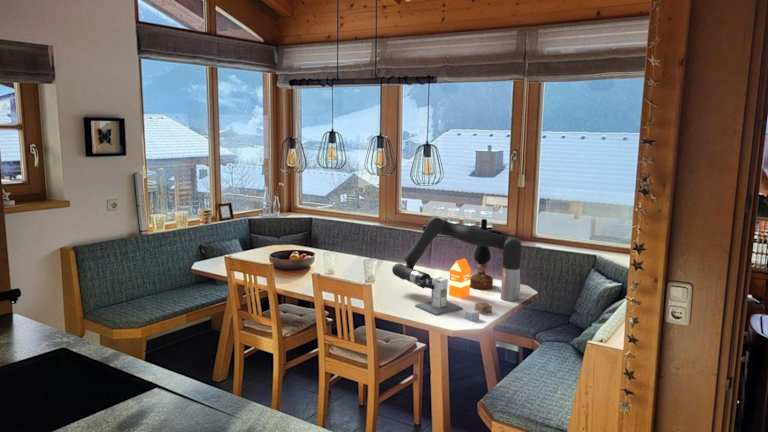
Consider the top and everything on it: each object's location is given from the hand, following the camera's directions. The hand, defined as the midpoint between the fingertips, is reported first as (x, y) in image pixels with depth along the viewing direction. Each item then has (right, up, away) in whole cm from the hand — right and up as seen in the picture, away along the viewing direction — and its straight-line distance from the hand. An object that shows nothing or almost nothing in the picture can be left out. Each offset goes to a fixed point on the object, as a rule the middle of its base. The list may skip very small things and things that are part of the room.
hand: (440, 286), depth 299 cm
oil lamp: (+27, -5, +42) cm, 51 cm away
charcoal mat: (0, -11, +2) cm, 12 cm away
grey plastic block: (+14, -14, -13) cm, 24 cm away
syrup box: (0, -11, +2) cm, 11 cm away
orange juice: (+13, -8, +25) cm, 29 cm away
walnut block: (+21, -13, -2) cm, 25 cm away
